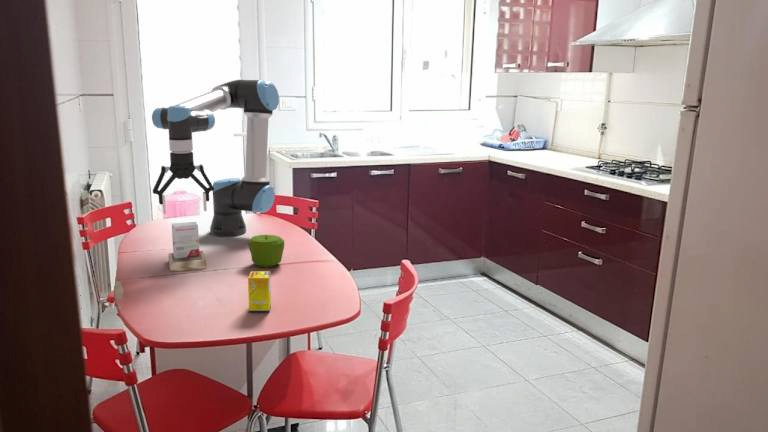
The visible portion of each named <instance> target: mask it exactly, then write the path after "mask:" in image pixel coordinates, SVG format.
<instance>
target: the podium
mask: <svg viewBox="0 0 768 432" xmlns="http://www.w3.org/2000/svg"><path fill="white" fill-rule="evenodd" d="M199 252H200V256H193V257H185V258H177V259H175V257H174V255H173V252H171V253H170V252H169V253H168V254H167V255H168V256H167V257H168V258H167V259H168V264H169V265H168V267H169V271H170V272H180V271H181V272H182V271H192V270H201V269H207V259H206V257H205V254H204V251H203V250H199Z"/></svg>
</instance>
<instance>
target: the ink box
mask: <svg viewBox="0 0 768 432" xmlns="http://www.w3.org/2000/svg"><path fill="white" fill-rule="evenodd" d="M171 232H172V233H171V234H172V235H171V236H172V237H171V238H172V251H173V252H172V253H173V255H174V257H175V259H177V258H185V257H193V256H200V252H199V251H200V241H199V239H200V237H199V225H198V223H197V222H196V221H190V222H177V223H171Z"/></svg>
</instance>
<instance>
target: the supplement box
mask: <svg viewBox="0 0 768 432" xmlns="http://www.w3.org/2000/svg"><path fill="white" fill-rule="evenodd" d="M271 277H272V275H271V271H267V270H266V271H259V270H258V271H257V270H255V271H253V270H252V271H250V272H249V275H248V277H247V279H248V280H247V284H248V285H247V286H248V287H247V289H248V313H249V314H269V313H270V311H271V308H272V291H271V290H272V289H271V288H272V284H271V282H272V281H271V279H272V278H271Z"/></svg>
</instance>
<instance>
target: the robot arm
mask: <svg viewBox="0 0 768 432" xmlns="http://www.w3.org/2000/svg"><path fill="white" fill-rule="evenodd" d="M279 95H280V94H279V91H278V89H277V87H276V86H275V84H274V83H273V82H271V81H269V80H262V79H236V80H230V81H228V82H225V83H221V84H219V85H217V86H215V87H213V88H212V89H211V91H208V92H206V93H204V94H201V95H199V96H196V97H193V98H191V99H188V100H186V101H183V102H181V103H178V104H174V105H170V106H169V107H157V108H155V109H154V110H153V112H152V114H151V120H152V125H153V126H154V127H155V128H157V129H162V130H168V145H169V151H170V153H169V159H170V165H169V166H165V165H162V166H161V169H160V174H159V175H158V178H157V180H156V183H154V184H155V185H154V187H153V189H152V193H153V194H154V195H157V196H158V203H159V205H162V212H163V215H165V214H167V210H166V195H165V191H166V190H167V189H168V188H169V187H170V185H171V184H172V183H173V182H174V181H175V180H176V179H178V180H181V179H190V178H191V179H192V180H193V182H195V183H196V184H197V185H198V186H199V187H200V188H202V190H203V191H202V198H203V199H202V203H203V211H204V212H207V210H208V209H207V202H210V192H212V204H213V207H212V208H213V217H212V220H211V223H210V227H209V230H210V232H209V233H210V234H211V235H213V236H217V237H234V236H240V235H244V234H246V232H247V224H246V222H245V219H244V216H243V213H242V212H243V211H244V212H252V213H260V214H262V213H267V212H268V211H269V210H270V209H271V208H272V207H273V205H274V203H275V197H276V191H275V190H274V189H275V188H274V187H273V186H272V185H271V184H270V183H271V182H270V179H269V178H268V177H267V169H268V168H267V165H268V145H269V144H268V142H269V141H268V140H269V120H270V117H272V116H273V111H276V109H277V108H278V106H279V104H280V97H279ZM232 108H233V109H234V108H235V109H243V114H244V115H245V116H246V139H245V140H246V143H245V145H246V146H245V171H244V173H245V174H244V176H243V177H242V178H241V177H240V178H239V177H233V178H223V179H218V180H215V181H214V182H213V183H212V182H211V181H210V179H209V178H208V177H209V176H207V174H206V172H205V168H204V165H203V164H201V163H200V164H198V165H195V163H194V153H193V149H194V148H193V146H194V144H193V133H200V132H206V131H210V130H212V129H213V128H214V126H215V123H216V118H215V116H214V113H213V112H215V111H219V110H221V111H223V110H224V111H225V110H227V109H232ZM195 170H197V172H200V174H201V176H202V177H203V179H204V181H205V183H206V184H207V186H208V187H207V186H205V184H204V183H203V182H202V181H201V180H200V179H199V177H197V176H196V175H195V174H194V172H195ZM168 171H170V173H171V175H170V176H169V178H168V179H167V180H166V182H165V183H164V184H163V186H161V184H162V182H163V180H164V177H165V176H166V174H167V173H168ZM160 186H161V188H160ZM159 188H160V189H159Z"/></svg>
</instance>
